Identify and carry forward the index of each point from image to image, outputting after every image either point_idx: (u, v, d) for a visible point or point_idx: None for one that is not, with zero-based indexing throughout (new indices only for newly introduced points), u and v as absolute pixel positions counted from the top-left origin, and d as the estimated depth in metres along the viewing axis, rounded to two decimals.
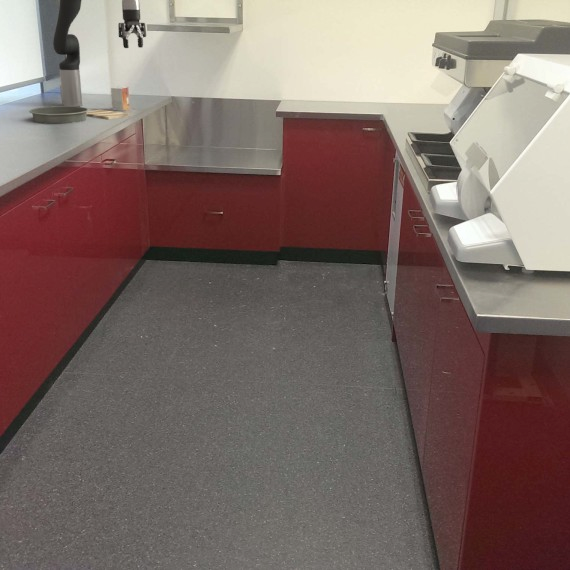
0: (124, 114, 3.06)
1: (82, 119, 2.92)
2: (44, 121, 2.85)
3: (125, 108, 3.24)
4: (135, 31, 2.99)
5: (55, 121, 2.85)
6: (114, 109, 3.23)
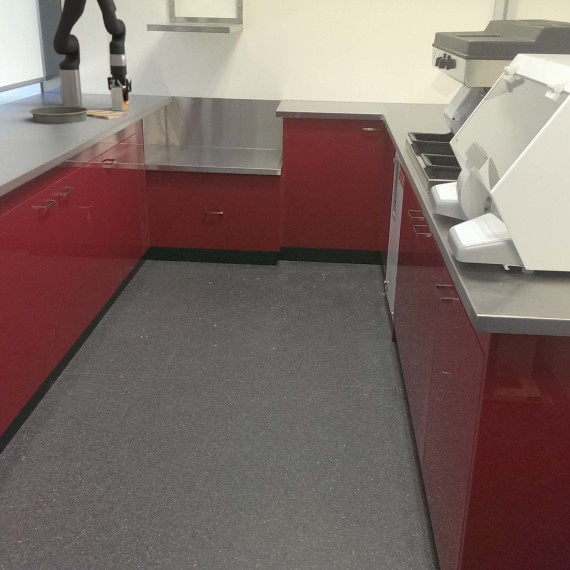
0: (124, 114, 3.06)
1: (82, 119, 2.92)
2: (44, 121, 2.85)
3: (125, 108, 3.24)
4: None
5: (55, 121, 2.85)
6: (114, 109, 3.23)
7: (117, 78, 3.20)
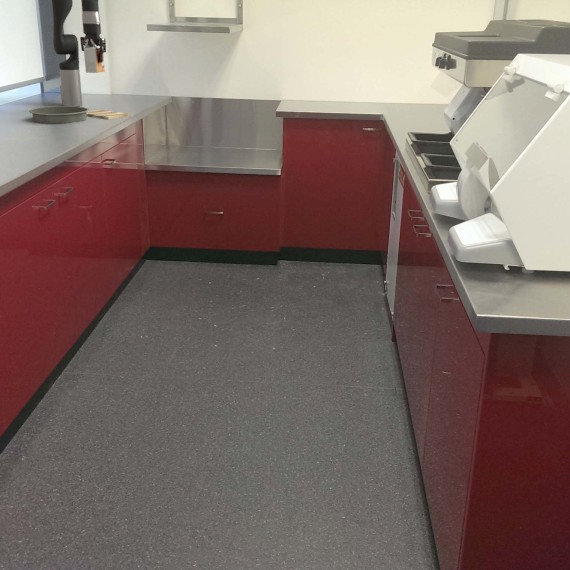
0: (124, 114, 3.06)
1: (82, 119, 2.92)
2: (44, 121, 2.85)
3: (99, 70, 3.03)
4: None
5: (55, 121, 2.85)
6: (87, 71, 3.01)
7: (90, 37, 2.98)
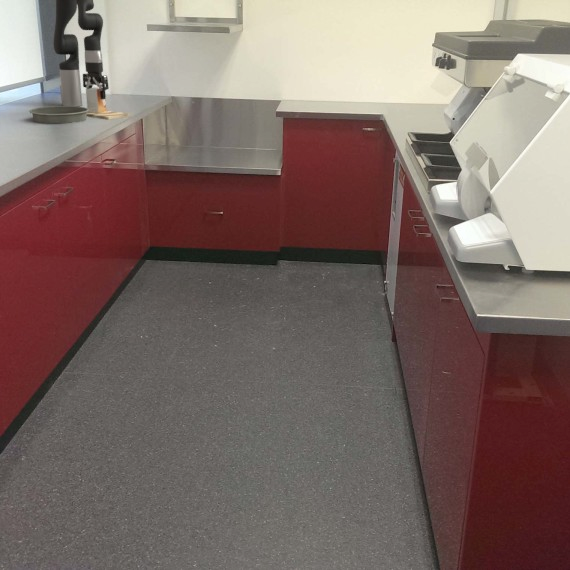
0: (124, 114, 3.06)
1: (82, 119, 2.92)
2: (44, 121, 2.85)
3: (101, 110, 3.09)
4: None
5: (55, 121, 2.85)
6: (89, 111, 3.08)
7: (93, 75, 3.04)
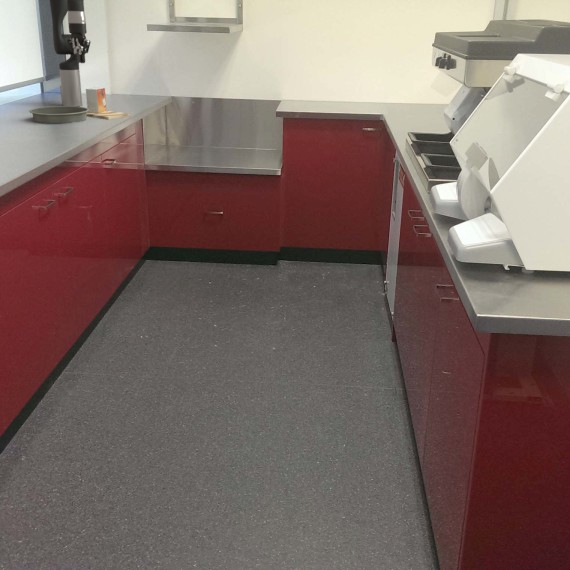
0: (124, 114, 3.06)
1: (82, 119, 2.92)
2: (44, 121, 2.85)
3: (101, 110, 3.09)
4: None
5: (55, 121, 2.85)
6: (89, 111, 3.08)
7: (76, 37, 3.03)
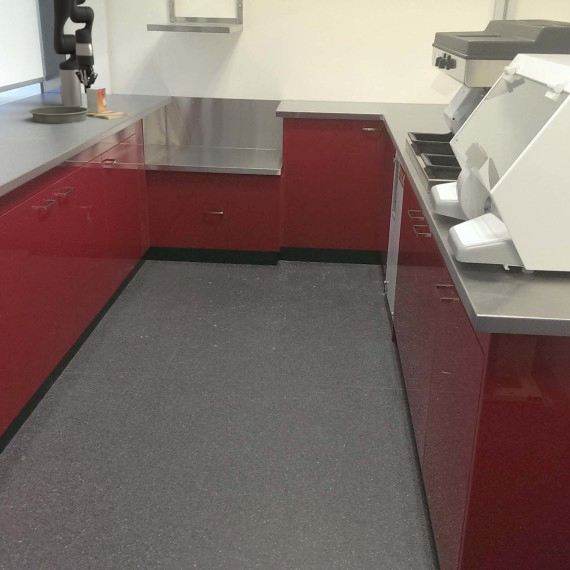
0: (124, 114, 3.06)
1: (82, 119, 2.92)
2: (44, 121, 2.85)
3: (101, 110, 3.09)
4: None
5: (55, 121, 2.85)
6: (89, 111, 3.08)
7: (84, 68, 3.06)
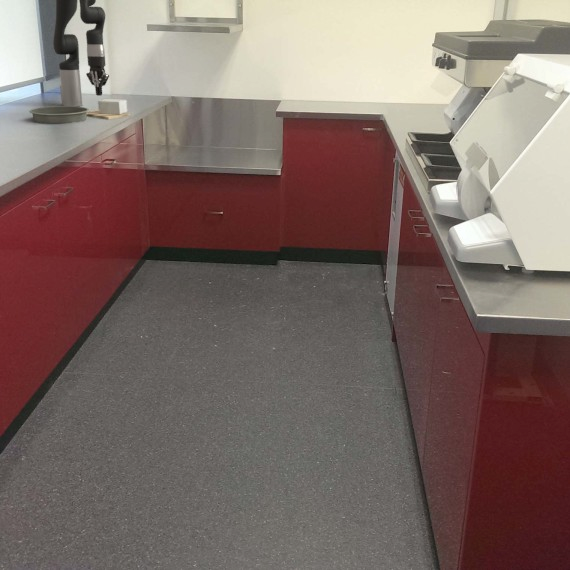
0: (124, 114, 3.06)
1: (82, 119, 2.92)
2: (44, 121, 2.85)
3: None
4: None
5: (55, 121, 2.85)
6: (99, 103, 3.05)
7: (95, 70, 3.02)
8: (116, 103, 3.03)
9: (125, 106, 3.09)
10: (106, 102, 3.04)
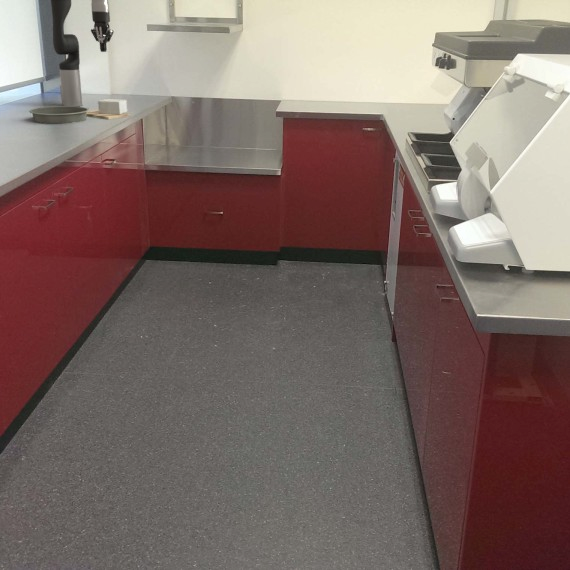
0: (124, 114, 3.06)
1: (82, 119, 2.92)
2: (44, 121, 2.85)
3: None
4: None
5: (55, 121, 2.85)
6: (99, 103, 3.05)
7: (99, 25, 3.02)
8: (116, 103, 3.03)
9: (125, 106, 3.09)
10: (106, 102, 3.04)
